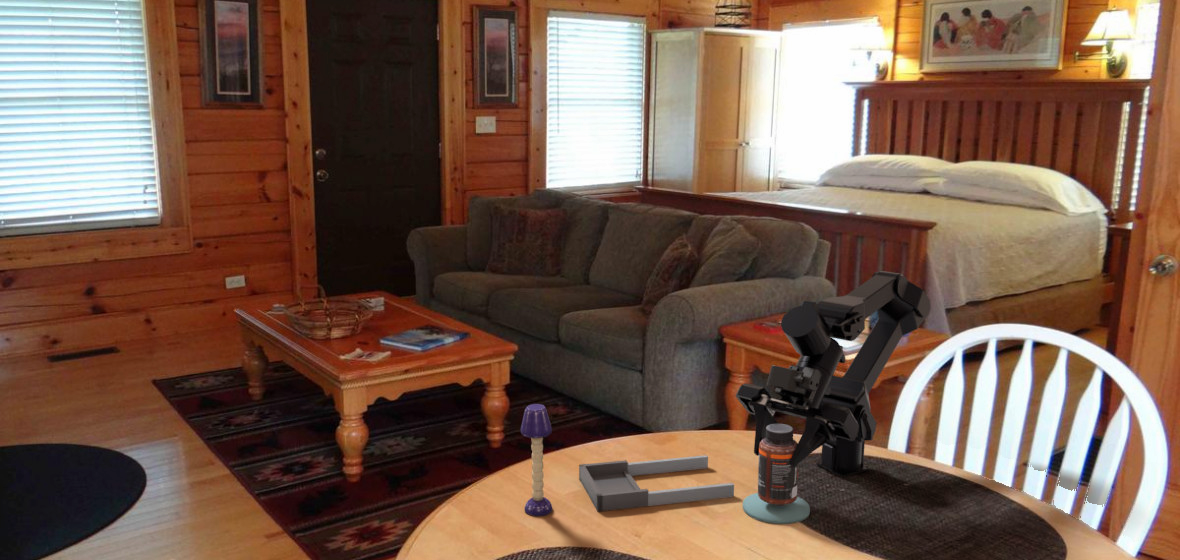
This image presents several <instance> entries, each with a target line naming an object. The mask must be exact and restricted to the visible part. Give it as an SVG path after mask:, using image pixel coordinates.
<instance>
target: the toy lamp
mask: <svg viewBox="0 0 1180 560" xmlns="http://www.w3.org/2000/svg"><path fill="white" fill-rule="evenodd" d="M552 430H553V428H552V424H551V421H550V417H549V414H548V411H547V408H546V406H545V405H544V404H540V403H532V404H529V405H528V406H526V407H525V409H524V413H523V417H522V422H521V426H520V434H521V435H522V436H524V437H527V438H528V439H529V438H530V439H531V445H530V447H531V448H530V449H531V451H532V453H531V460H532V463H531V470H532V472H531V479H532V482H531V483H532V484H531V488H532V492H531V496H532V497H531V498H529V499H528V500H527V501H526V503H525V505H524V512H525V513H526V514H527V515H531V516H534V517H541V516H547V515H549V514H551V513H552V512H553V505H552V502H551V501H550V499H548V498H547V497H544V495H545V494H544V490H543V489H544V487H545V486H544V485H545V484H544V477H545V476H544V471H543V470H544V465H545V464H544V462H543V460H544V453H543V450H544V445H543V444H544V443H543V440H544V438H546V437H549V435H551V433H552Z"/></svg>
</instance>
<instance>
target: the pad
mask: <svg viewBox="0 0 1180 560" xmlns="http://www.w3.org/2000/svg"><path fill="white" fill-rule="evenodd" d="M742 509H743V511H744V513H745V514H746V515H747V516H748V517H750V518H752V519H753V520H756V521H759V522H763V523H768V524H773V525H790V524H796V523H800V522H802V521H804V520H806V519H807V518H808V517H809V516H810V512H811V508H810V505H809V503H808V502H807V501H806V500H805V499H803V498H802V497H799V496H797V499H796V500H795V501H794V502H793V503H791V504H786V505H773V504H769V503H767V502H764V501H763V500H761V499H760V498H759V496H758V492H755V493H752V494H749V495H747V496H746V497H744V499H743V501H742Z"/></svg>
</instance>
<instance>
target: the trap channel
mask: <svg viewBox="0 0 1180 560" xmlns="http://www.w3.org/2000/svg"><path fill="white" fill-rule="evenodd" d="M578 468H579V469H578V472H579V473H578V479H579V481H580V484H581V485H582V487H583V488H584V490H585V492H586V494H587V497H589V499H590V501H591V503H592V504H593V506H594V508H595V510H596V512H599V513H600V512H605V511H615V510H617V511H618V510H625V509H626V510H627V509H634V508H641V507H651V506H652V507H653V506H660V505H669V504H680V503H689V502H697V501H709V500H714V499H715V500H716V499H725V498H734V496H735V484H734V483H733V482H726V483H719V484H718V483H717V484H707V485H699V486H697V485H696V486H690V487H689V486H688V487H687V486H686V487H679V488H672V489H671V488H670V489H669V488H668V489H660V490H651V491H649V489H648V488H641V487H640V486H639V485H638V483H637V482H636V481H635V479H634V476H642V475H644V476H645V475H653V474H654V475H655V474H663V473H664V474H665V473H673V472H675V473H676V472H681V471H693V470H704V469H708V468H709V456H708V455H707V454H704V455H696V456H694V455H693V456H687V457H685V456H684V457H674V458H664V459H654V460H645V461H644V460H643V461H634V462H628V461H627V459H626V460H625V459H624V460H614V461H613V460H612V461H606V462H605V461H604V462H603V461H602V462H595V463H594V462H593V463H583V464H582V463H581V464H579V465H578Z"/></svg>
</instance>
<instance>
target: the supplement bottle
mask: <svg viewBox="0 0 1180 560" xmlns="http://www.w3.org/2000/svg"><path fill="white" fill-rule="evenodd" d="M793 437H794V428H793V426H790V425H789V424H784V423H778V424H771V425H768V426H767V427H766V437H765V438H764V439H762V440H761V442H760V444H759V456H758V469H757V470H758V471H757V493H758V496H759V498H760V499H761V500H763V501H764V502H767V503H769V504H773V505H786V504H791V503H793V502H794V501H795V500H796V499H797V497H798V493H799V492H798V491H799V466H800V465H799V464H800V463H798V464H797V465H796V466H795V467H793V466H792V465H791V464H790V461H791V458H792V455H793V453H794V451H795V449H796V447H797V445H798V442H797V441H796V440H795V439H794V438H793Z"/></svg>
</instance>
